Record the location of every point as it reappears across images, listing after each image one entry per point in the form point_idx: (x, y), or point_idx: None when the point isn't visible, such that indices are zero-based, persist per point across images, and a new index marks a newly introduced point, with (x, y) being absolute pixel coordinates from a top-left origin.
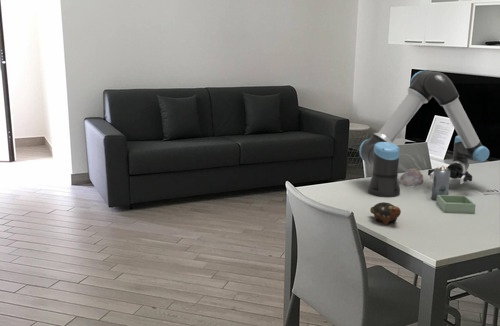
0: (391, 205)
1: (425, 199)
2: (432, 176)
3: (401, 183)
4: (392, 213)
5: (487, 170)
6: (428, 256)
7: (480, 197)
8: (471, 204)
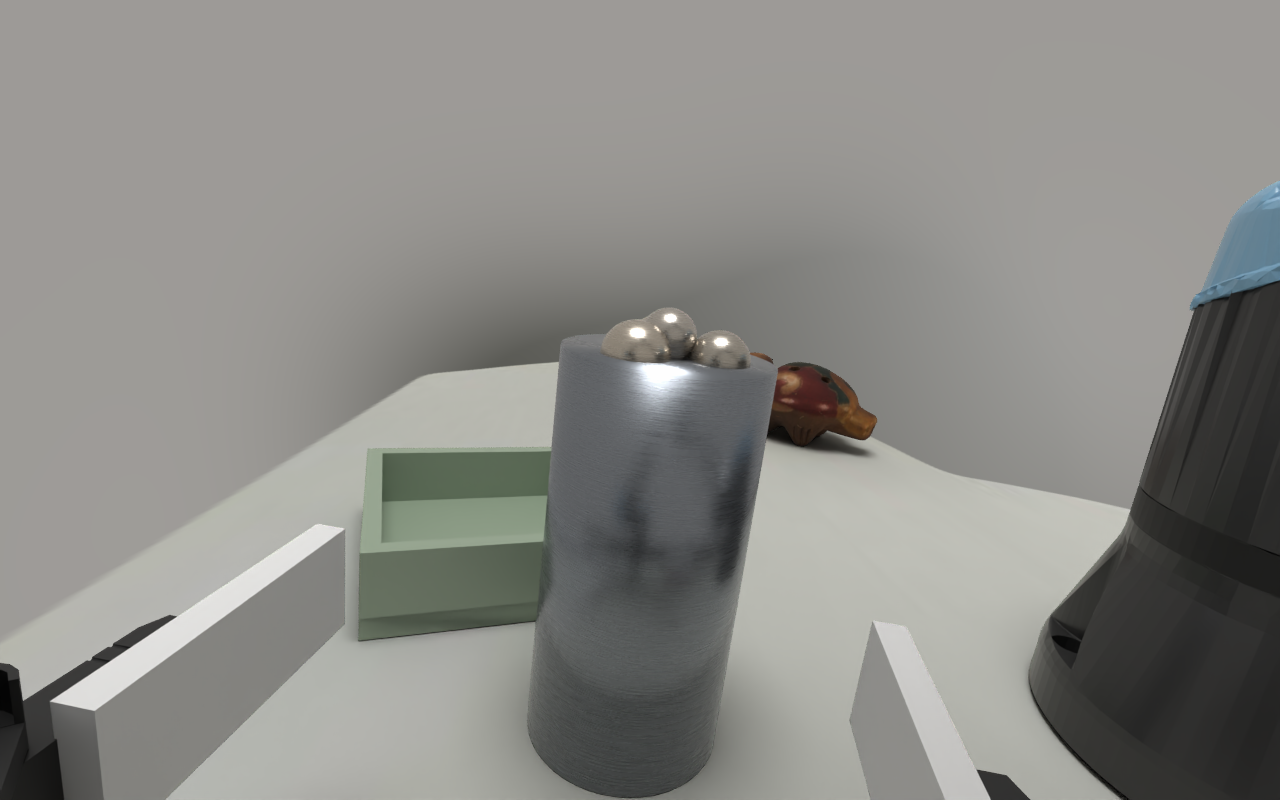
0: (784, 365)
1: (756, 677)
2: (871, 711)
3: None
4: None
5: None
6: None
7: None
8: (399, 449)
